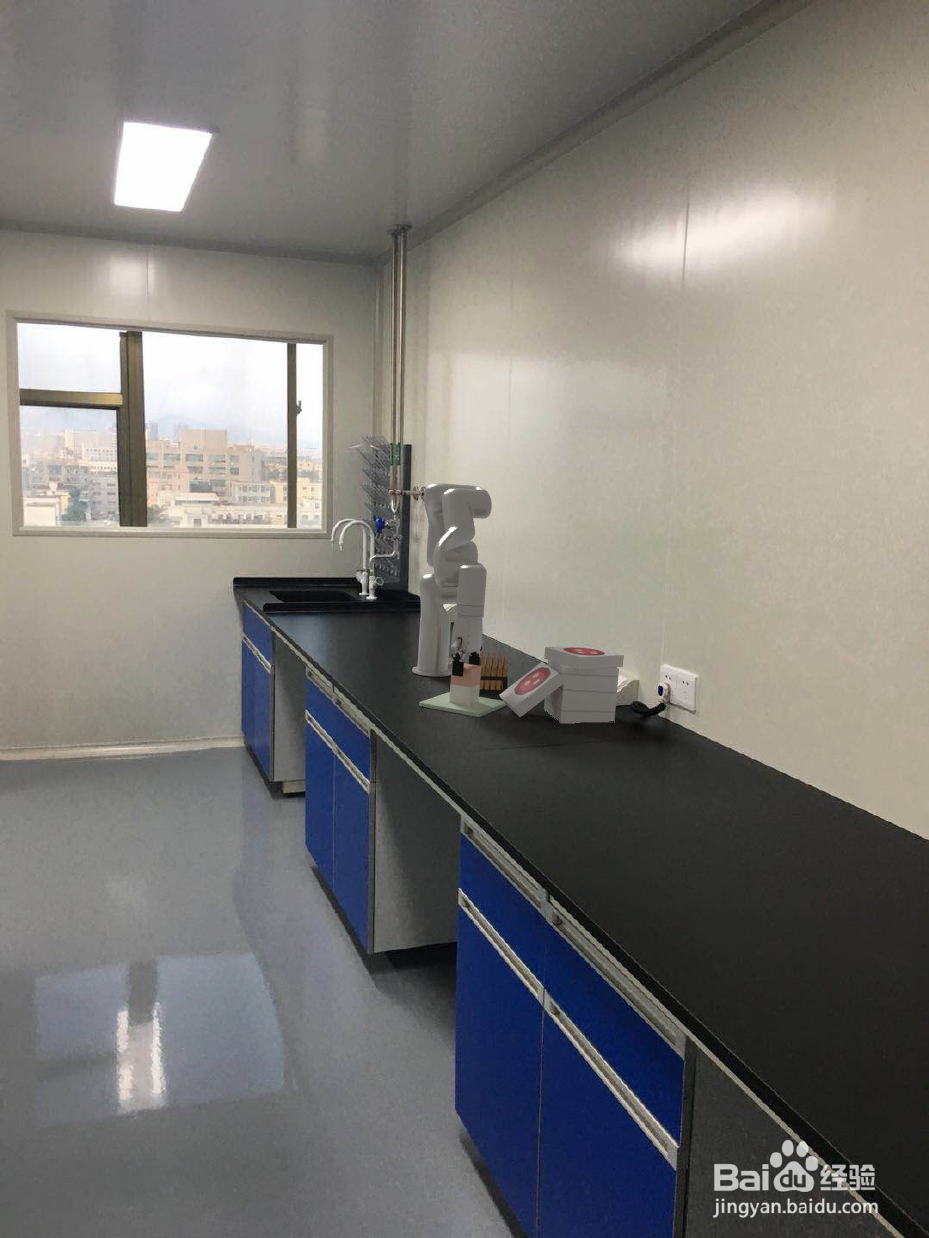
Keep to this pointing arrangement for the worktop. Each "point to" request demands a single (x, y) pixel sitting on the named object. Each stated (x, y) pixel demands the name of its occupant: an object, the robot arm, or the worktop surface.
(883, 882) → the worktop surface
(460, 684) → the coral brick
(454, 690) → the cream brick
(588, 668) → the pizza boxes
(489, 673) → the ammunition clip
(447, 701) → the base plate
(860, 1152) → the worktop surface
